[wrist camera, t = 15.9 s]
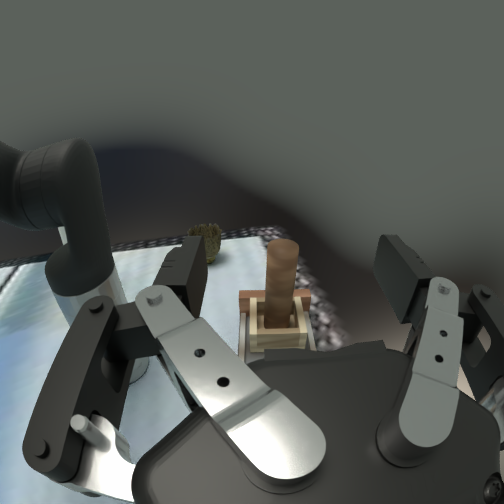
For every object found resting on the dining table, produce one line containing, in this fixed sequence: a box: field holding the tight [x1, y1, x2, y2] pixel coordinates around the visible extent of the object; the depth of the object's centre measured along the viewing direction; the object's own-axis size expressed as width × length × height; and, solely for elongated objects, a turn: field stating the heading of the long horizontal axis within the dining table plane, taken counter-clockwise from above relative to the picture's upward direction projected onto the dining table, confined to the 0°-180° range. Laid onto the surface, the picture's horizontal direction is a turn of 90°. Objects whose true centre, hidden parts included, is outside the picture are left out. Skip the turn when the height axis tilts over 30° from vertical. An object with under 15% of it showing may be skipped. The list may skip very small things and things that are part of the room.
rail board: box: [238, 289, 316, 364], centre depth 38 cm, size 20×12×6 cm, turn 0°
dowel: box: [264, 239, 299, 329], centre depth 39 cm, size 4×4×14 cm
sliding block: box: [250, 297, 307, 352], centre depth 41 cm, size 8×8×4 cm
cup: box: [188, 223, 221, 264], centre depth 62 cm, size 8×7×8 cm
